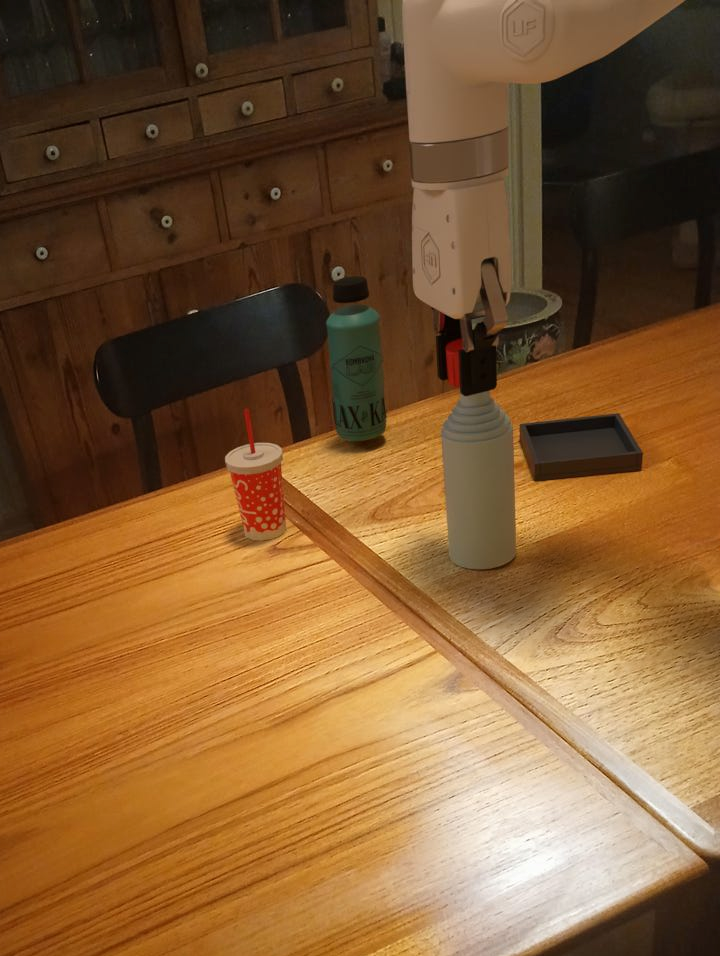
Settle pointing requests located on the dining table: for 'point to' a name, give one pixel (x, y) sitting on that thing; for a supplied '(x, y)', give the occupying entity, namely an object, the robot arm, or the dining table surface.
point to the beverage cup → (258, 486)
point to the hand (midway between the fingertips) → (466, 381)
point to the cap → (453, 362)
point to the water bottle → (479, 483)
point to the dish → (580, 447)
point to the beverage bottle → (356, 363)
